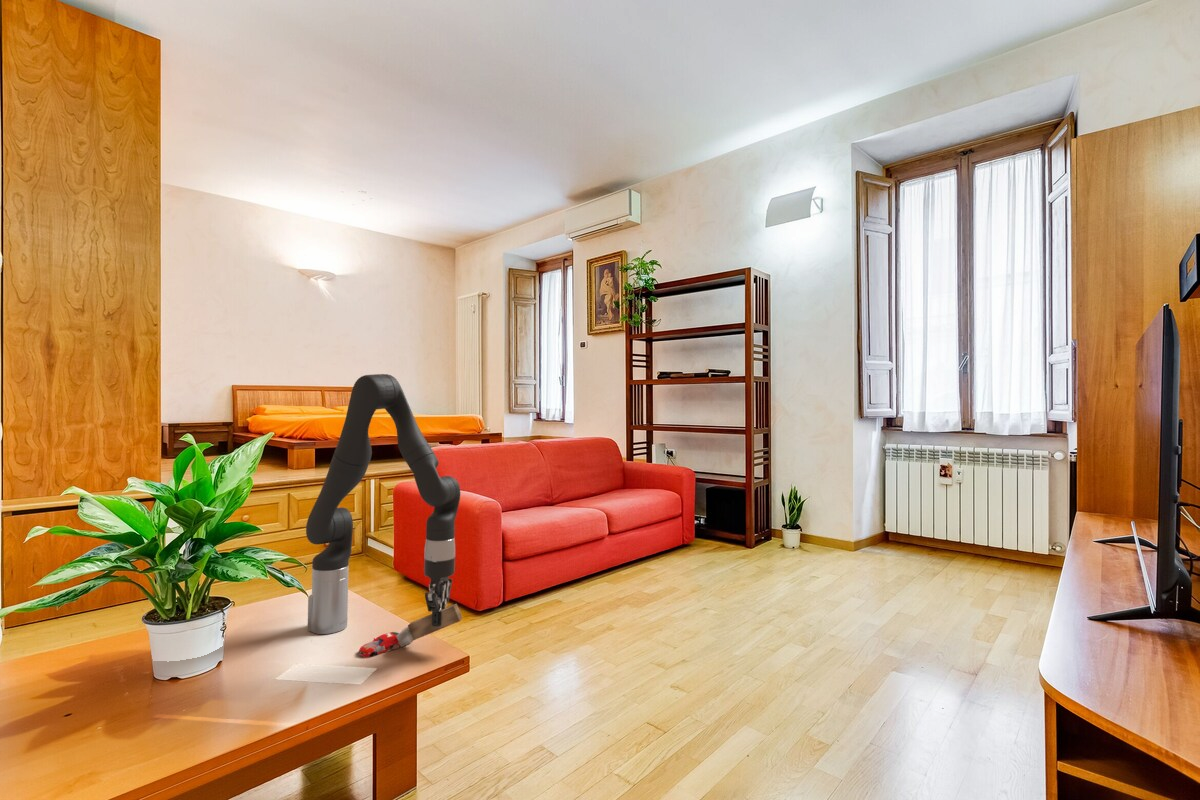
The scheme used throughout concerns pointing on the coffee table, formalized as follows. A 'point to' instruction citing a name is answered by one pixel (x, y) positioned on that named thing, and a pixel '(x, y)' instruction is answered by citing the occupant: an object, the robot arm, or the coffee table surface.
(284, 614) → the coffee table surface
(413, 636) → the brown and gray block
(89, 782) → the coffee table surface
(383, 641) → the race car
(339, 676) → the pad
